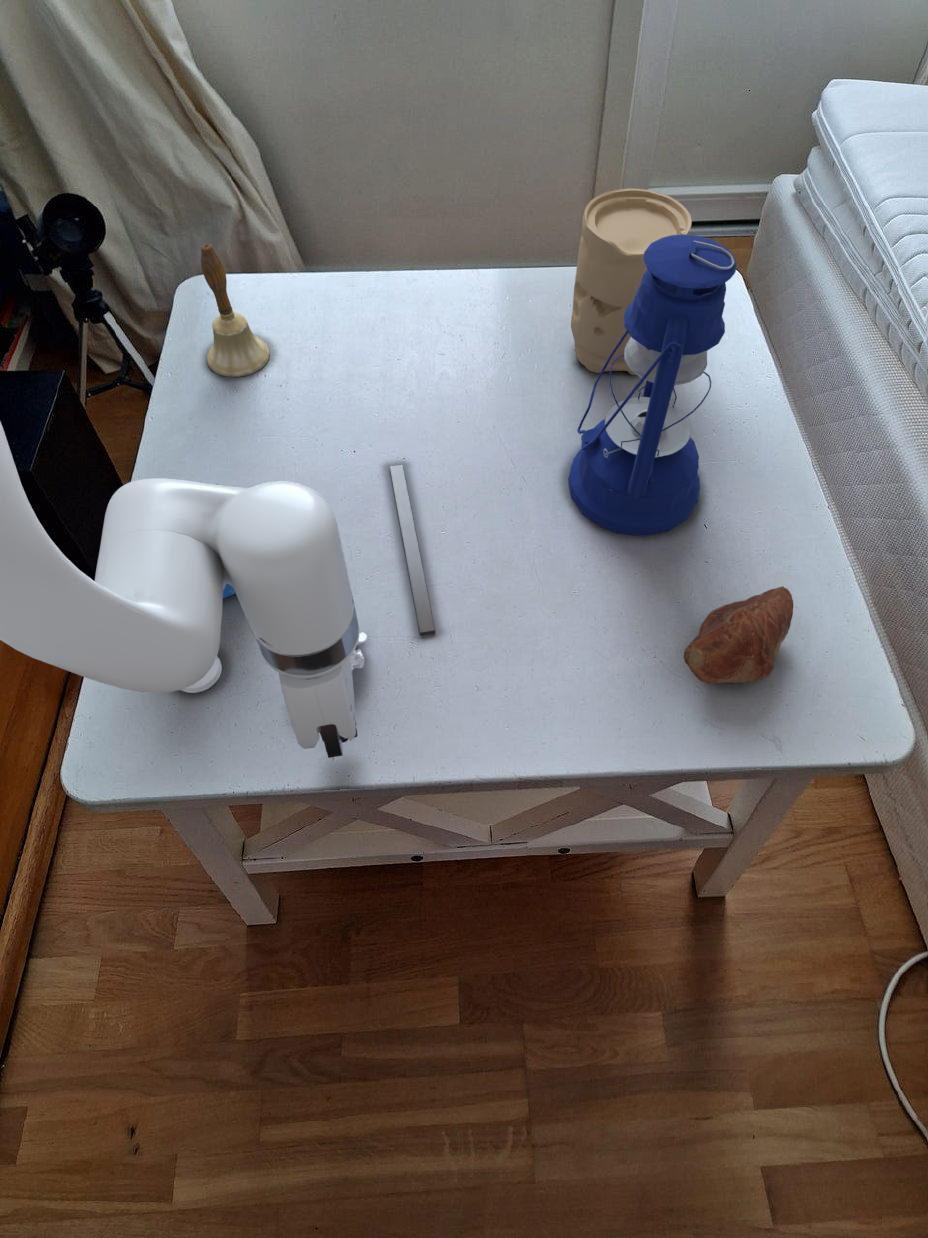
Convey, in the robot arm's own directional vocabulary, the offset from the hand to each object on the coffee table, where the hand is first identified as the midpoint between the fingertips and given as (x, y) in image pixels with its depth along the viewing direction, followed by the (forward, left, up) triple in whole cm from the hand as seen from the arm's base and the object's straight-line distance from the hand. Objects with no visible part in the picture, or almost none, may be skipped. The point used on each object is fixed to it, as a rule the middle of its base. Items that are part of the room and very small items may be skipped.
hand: (339, 732), depth 74 cm
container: (+42, +52, -2) cm, 66 cm away
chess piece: (-14, +10, -2) cm, 17 cm away
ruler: (+10, +23, -2) cm, 25 cm away
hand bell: (-8, +59, -2) cm, 59 cm away
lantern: (+37, +27, -2) cm, 46 cm away
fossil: (+40, +3, -2) cm, 40 cm away
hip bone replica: (0, +9, -2) cm, 9 cm away
